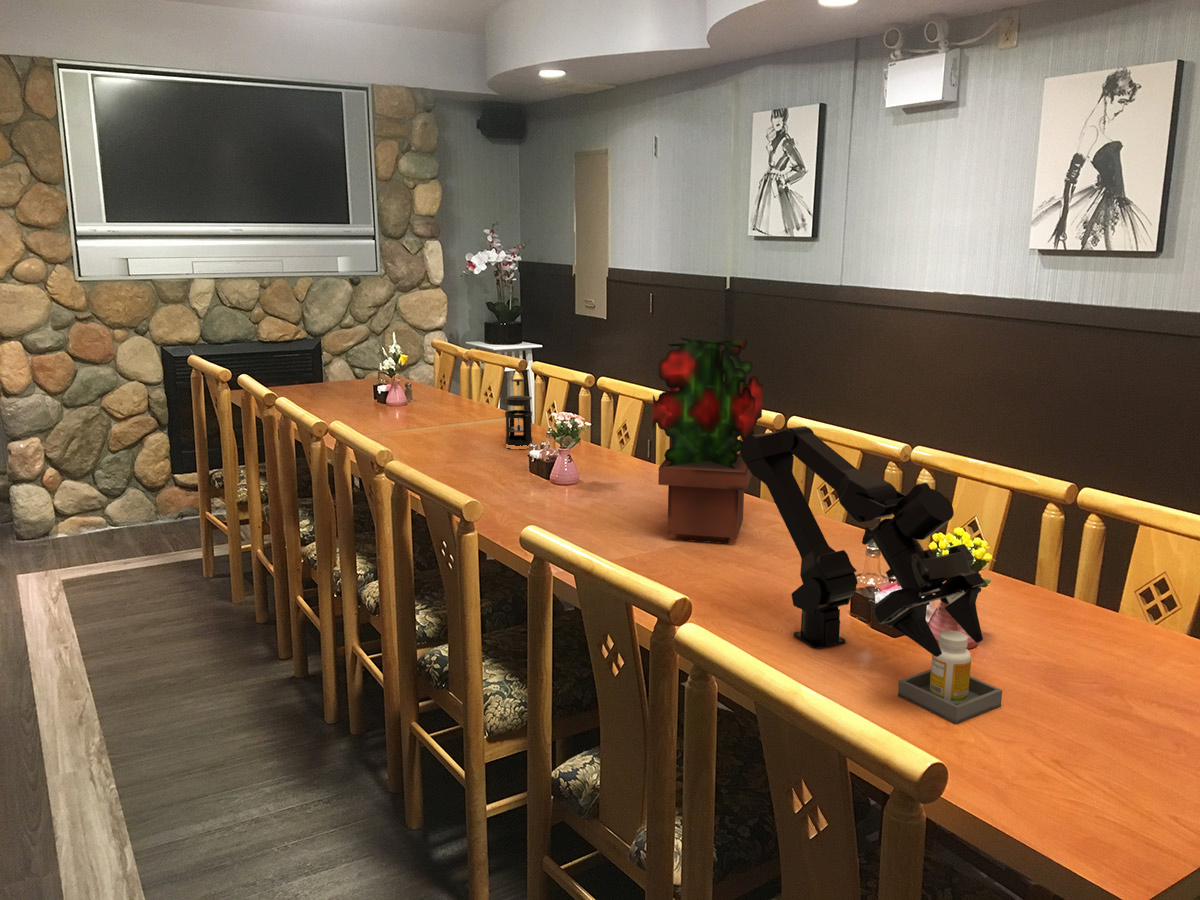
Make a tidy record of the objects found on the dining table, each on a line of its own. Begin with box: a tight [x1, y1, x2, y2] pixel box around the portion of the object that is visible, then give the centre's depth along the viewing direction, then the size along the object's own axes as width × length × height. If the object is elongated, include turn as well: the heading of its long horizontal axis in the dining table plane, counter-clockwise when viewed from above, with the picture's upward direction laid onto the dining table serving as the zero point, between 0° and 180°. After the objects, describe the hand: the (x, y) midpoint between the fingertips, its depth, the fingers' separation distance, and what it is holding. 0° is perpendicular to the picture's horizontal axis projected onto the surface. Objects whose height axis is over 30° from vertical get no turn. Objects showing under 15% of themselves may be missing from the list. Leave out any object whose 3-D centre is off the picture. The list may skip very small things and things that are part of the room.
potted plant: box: [652, 337, 764, 544], centre depth 216 cm, size 22×22×45 cm
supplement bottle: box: [929, 629, 972, 704], centre depth 138 cm, size 5×5×10 cm
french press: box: [504, 378, 533, 446], centre depth 314 cm, size 12×9×23 cm
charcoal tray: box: [897, 668, 1003, 725], centre depth 139 cm, size 10×10×2 cm
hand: (960, 648), depth 136 cm, fingers open, 9 cm apart
